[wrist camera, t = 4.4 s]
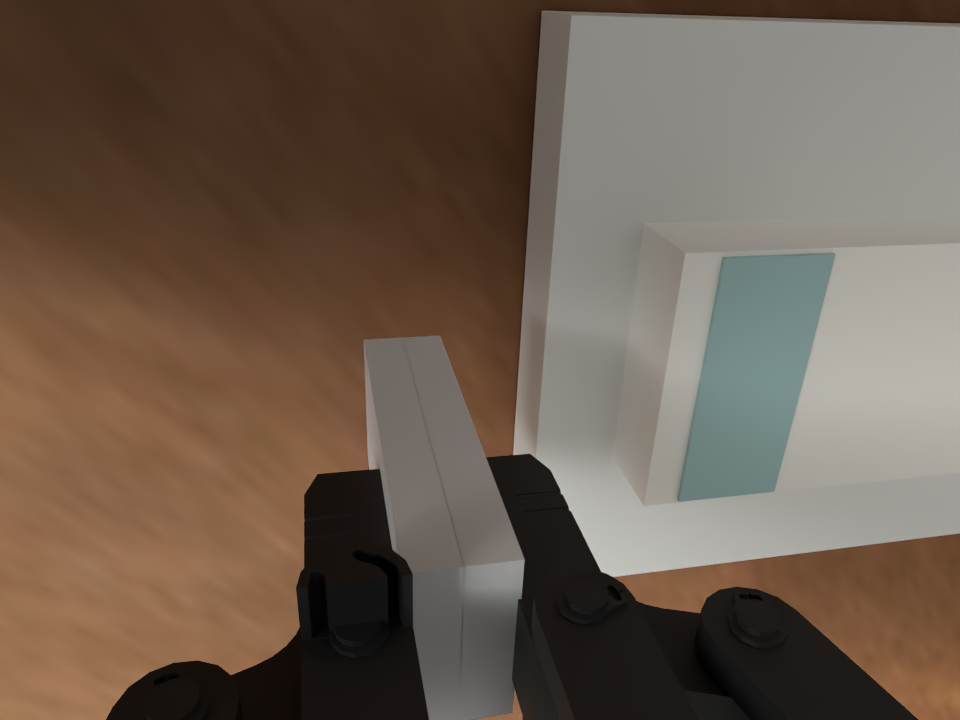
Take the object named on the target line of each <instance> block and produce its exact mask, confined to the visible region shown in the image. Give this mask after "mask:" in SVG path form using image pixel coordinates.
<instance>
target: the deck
mask: <svg viewBox="0 0 960 720" xmlns="http://www.w3.org/2000/svg"><path fill="white" fill-rule="evenodd" d="M953 214H960V23H928V22H896V21H863V20H831V19H798V18H766V17H733V16H701V15H669V14H636V13H604V12H571V11H542V15H541V30H540V46H539V61H538V77H537V92H536V107H535V123H534V138H533V154H532V169H531V185H530V200H529V216H528V231H527V247H526V262H525V278H524V293H523V309H522V324H521V340H520V355H519V370H518V386H517V401H516V417H515V432H514V448H513V455H521V454H531V455H532V456H534V457H535V458H536V459H537V460H539V461H540V462H541V463H542V464H544V465H545V466H546V467H547V468H549V469H550V470H551V472H552V474H553V476H554V478H555V480H556V482H557V484H558V486H559V488H560V490H561V494H563V496H564V498H565V500H566V502H567V504H568V506H569V511H571V512H572V514H573V516H574V518H575V520H576V522H577V524H578V526H579V528H580V530H581V532H582V534H583V536H584V538H585V540H586V542H587V544H588V546H589V548H590V550H591V552H592V554H593V556H594V558H595V560H596V562H597V564H598V566H599V568H600V570H601V572H603V573H606V574H608V575H610V576H612V577H616V576H624V575H632V574H640V573H648V572H656V571H664V570H672V569H680V568H688V567H696V566H704V565H712V564H720V563H728V562H736V561H744V560H752V559H760V558H768V557H775V556H783V555H791V554H799V553H807V552H815V551H823V550H831V549H839V548H847V547H855V546H863V545H871V544H879V543H887V542H895V541H903V540H911V539H919V538H927V537H935V536H943V535H951V534H959V533H960V473H950V474H941V475H932V476H922V477H913V478H904V479H894V480H885V481H876V482H866V483H857V484H848V485H838V486H829V487H820V488H810V489H801V490H792V491H782V492H773V493H764V494H754V495H745V496H736V497H726V498H717V499H707V500H698V501H689V502H679V503H670V504H661V505H651V506H643V504H642V503H641V501H640V500H639V498H638V496H637V495H636V493H635V492H634V490H633V489H632V487H631V485H630V484H629V482H628V481H627V479H626V478H625V476H624V474H623V473H622V471H621V470H620V468H619V467H618V465H617V464H616V462H615V460H614V459H613V457H612V456H613V449H614V441H615V434H616V427H617V419H618V412H619V404H620V397H621V390H622V382H623V375H624V368H625V360H626V353H627V345H628V338H629V331H630V323H631V316H632V309H633V301H634V294H635V286H636V279H637V272H638V264H639V257H640V250H641V242H642V235H643V227H644V223H664V222H700V221H737V220H773V219H809V218H845V217H881V216H917V215H953Z"/></svg>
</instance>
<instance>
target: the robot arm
mask: <svg viewBox="0 0 960 720" xmlns="http://www.w3.org/2000/svg"><path fill="white" fill-rule="evenodd" d="M364 362H365V390H366V418H367V446H368V462H369V469H370V470H361V471H349V472H338V473H326V474H318V475H317V476H316V478H315V479H314V481H313V482H312V484H311V485H310V487H309V489H308V490H307V492H306V493H305V495H304V518H305V522H304V537H305V541H304V569H303V570H302V571H301V573H300V577H299V580H298V584H297V587H296V591H297V601H298V612H299V622H300V628H299V630H298V632H297V634H296V635H295V636H294V638H293V639H292V640H291V641H290V642H289V643H288V645H287V646H286V647H285V648H283V649H282V650H281V651H279V652H278V653H277V654H275V655H274V656H273V657H271V658H269V659H267V660H265V661H263V662H261V663H259V664H257V665H255V666H253V667H250V668H248V669H245V670H243V671H241V672H238V673H236V674H233V675H230V674H229V673H227V672H226V671H225V670H223V669H222V668H221V667H219V666H218V665H214V664H210V663H206V662H201V661H189V662H179V663H172V664H170V665H167V666H165V667H162V668H160V669H157V670H154V671H152V672H149V673H148V674H147V675H145V676H144V677H142V678H141V679H140V680H138V681H137V682H135V683H134V684H133V685H131V686H130V687H128V689H127V690H126V691H125V692H124V694H123V695H122V696H121V698H120V699H119V700H118V701H117V703H116V704H115V705H114V706H113V708H112V710H111V712H110V713H109V715H108V717H107V719H106V720H470V719H476V718H482V717H489V716H495V715H502V714H508V713H512V710H513V697H514V688H515V691H516V694H517V698H518V701H519V704H520V708H521V711H522V715H523V720H918V719H917V718H916V717H915V716H914V715H912V714H911V713H910V712H909V711H908V710H907V709H906V708H905V707H904V706H902V705H901V704H900V703H899V702H898V701H897V700H896V699H895V698H894V697H892V696H891V695H890V694H889V693H888V692H887V691H886V690H885V689H883V688H882V687H881V686H880V685H879V684H878V683H877V682H876V681H875V680H873V679H872V678H871V677H870V676H869V675H868V674H867V673H866V672H865V671H863V670H862V669H861V668H860V667H859V666H858V665H857V664H856V663H854V662H853V661H852V660H851V659H850V658H849V657H848V656H847V655H846V654H844V653H843V652H842V651H841V650H840V649H839V648H838V647H837V646H836V645H834V644H833V643H832V642H831V641H830V640H829V639H828V638H827V637H825V636H824V635H823V634H822V633H821V632H820V631H819V630H818V629H817V628H815V627H814V626H813V625H812V624H811V623H810V622H809V621H808V620H806V619H805V618H804V617H803V616H802V615H801V614H800V613H799V612H798V611H796V610H795V609H794V608H792V607H791V606H790V605H788V604H787V603H785V602H784V601H782V600H781V599H779V598H778V597H775V596H773V595H770V594H768V593H765V592H763V591H760V590H757V589H750V588H742V587H733V588H727V589H721V590H718V591H717V592H715V593H714V594H712V595H711V596H709V597H708V598H707V599H706V601H705V603H704V606H703V608H702V610H701V613H693V612H686V611H678V610H671V609H663V608H658V607H653V606H649V605H645V604H643V603H640V602H638V601H636V600H635V598H634V596H633V595H632V594H631V593H630V591H629V590H628V589H627V588H626V586H625V585H624V584H623V583H621V582H619V581H618V580H616V579H615V578H613V577H612V576H610V575H608V574H606V573H603V572H601V570H600V568H599V566H598V564H597V562H596V560H595V558H594V556H593V554H592V552H591V550H590V548H589V546H588V544H587V542H586V540H585V538H584V536H583V534H582V532H581V530H580V528H579V526H578V524H577V522H576V520H575V518H574V516H573V514H572V512H571V511H569V506H568V504H567V502H566V500H565V498H564V496H563V494H561V490H560V488H559V486H558V484H557V482H556V480H555V478H554V476H553V474H552V472H551V470H550V469H549V468H547V467H546V466H545V465H544V464H542V463H541V462H540V461H539V460H537V459H536V458H535V457H534V456H532V455H531V454H521V455H509V456H498V457H486V456H485V453H484V451H483V448H482V445H481V443H480V440H479V437H478V435H477V432H476V429H475V427H474V424H473V422H472V419H471V416H470V414H469V411H468V408H467V406H466V403H465V400H464V398H463V395H462V392H461V390H460V387H459V384H458V382H457V379H456V376H455V374H454V371H453V369H452V366H451V363H450V361H449V358H448V355H447V353H446V350H445V347H444V345H443V342H442V339H441V337H440V336H423V337H404V338H385V339H366V340H364Z"/></svg>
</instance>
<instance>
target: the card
mask: <svg viewBox="0 0 960 720" xmlns="http://www.w3.org/2000/svg"><path fill="white" fill-rule="evenodd" d="M612 457H613V459H614V460H615V462H616V464H617V465H618V467H619V468H620V470H621V471H622V473H623V474H624V476H625V478H626V479H627V481H628V482H629V484H630V485H631V487H632V489H633V490H634V492H635V493H636V495H637V496H638V498H639V500H640V501H641V503H642V504H643V506H651V505H661V504H670V503H679V502H689V501H698V500H707V499H717V498H726V497H736V496H745V495H754V494H764V493H773V492H782V491H792V490H801V489H810V488H820V487H829V486H838V485H848V484H857V483H866V482H876V481H885V480H894V479H904V478H913V477H922V476H932V475H941V474H950V473H960V214H953V215H917V216H881V217H845V218H809V219H773V220H737V221H700V222H664V223H644V227H643V235H642V242H641V250H640V257H639V264H638V272H637V279H636V286H635V294H634V301H633V309H632V316H631V323H630V331H629V338H628V345H627V353H626V360H625V368H624V375H623V382H622V390H621V397H620V404H619V412H618V419H617V427H616V434H615V441H614V449H613V456H612Z"/></svg>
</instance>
